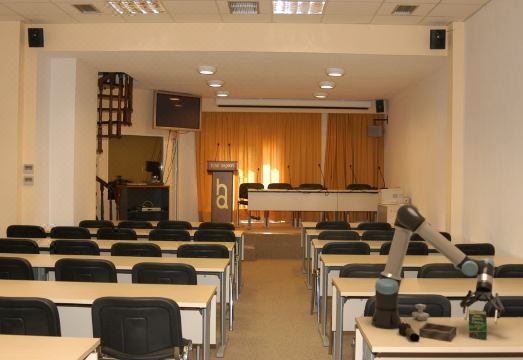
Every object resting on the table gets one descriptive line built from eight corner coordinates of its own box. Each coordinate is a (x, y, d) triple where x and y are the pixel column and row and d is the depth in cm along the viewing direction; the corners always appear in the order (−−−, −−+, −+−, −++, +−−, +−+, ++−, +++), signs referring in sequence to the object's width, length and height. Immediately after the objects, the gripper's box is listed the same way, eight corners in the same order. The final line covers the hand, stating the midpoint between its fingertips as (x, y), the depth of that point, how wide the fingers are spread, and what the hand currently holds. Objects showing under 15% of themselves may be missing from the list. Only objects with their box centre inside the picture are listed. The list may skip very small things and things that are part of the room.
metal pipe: (419, 342, 233) (419, 330, 233) (405, 342, 233) (405, 330, 233) (409, 331, 250) (409, 320, 250) (395, 331, 250) (395, 320, 250)
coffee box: (468, 337, 241) (468, 310, 242) (468, 335, 244) (469, 309, 244) (486, 340, 237) (486, 312, 238) (486, 338, 240) (487, 311, 240)
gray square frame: (419, 336, 241) (419, 328, 241) (426, 329, 254) (426, 322, 254) (450, 341, 234) (450, 333, 234) (456, 334, 246) (456, 326, 246)
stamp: (422, 317, 279) (422, 302, 279) (430, 320, 273) (431, 305, 273) (409, 319, 275) (409, 303, 275) (418, 322, 269) (418, 306, 269)
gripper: (512, 292, 250) (509, 329, 237) (459, 286, 263) (454, 321, 250) (511, 283, 246) (508, 320, 233) (457, 278, 259) (452, 313, 246)
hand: (480, 321), depth 242 cm, fingers open, 13 cm apart
